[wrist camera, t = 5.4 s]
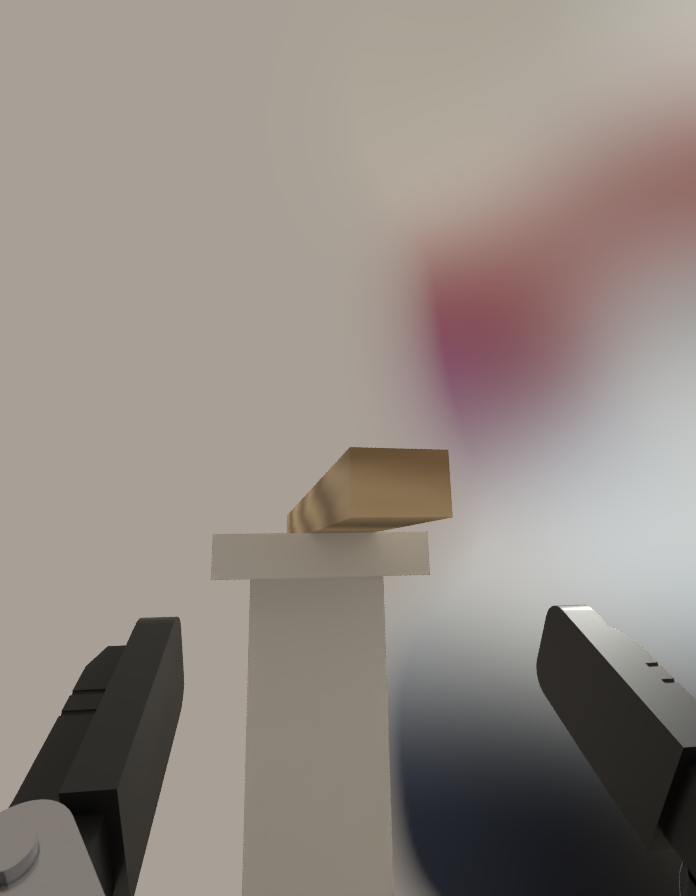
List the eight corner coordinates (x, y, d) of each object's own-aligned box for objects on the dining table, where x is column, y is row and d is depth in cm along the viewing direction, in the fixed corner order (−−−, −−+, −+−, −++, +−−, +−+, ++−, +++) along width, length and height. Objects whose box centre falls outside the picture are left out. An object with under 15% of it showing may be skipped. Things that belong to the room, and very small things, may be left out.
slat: (452, 517, 14) (448, 450, 14) (351, 517, 13) (350, 447, 14) (325, 541, 37) (325, 515, 37) (286, 542, 36) (287, 515, 37)
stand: (479, 1507, 16) (427, 531, 23) (166, 1603, 14) (212, 534, 21) (388, 1068, 29) (373, 540, 36) (221, 1097, 28) (239, 542, 35)
